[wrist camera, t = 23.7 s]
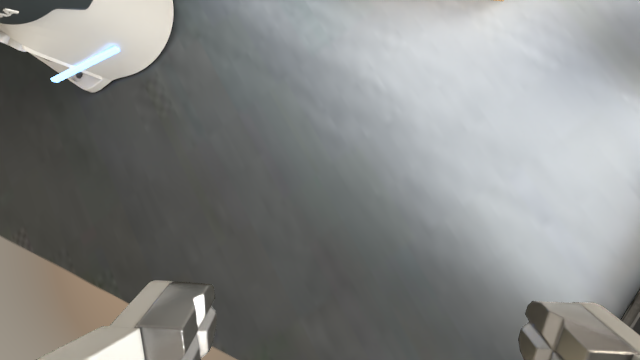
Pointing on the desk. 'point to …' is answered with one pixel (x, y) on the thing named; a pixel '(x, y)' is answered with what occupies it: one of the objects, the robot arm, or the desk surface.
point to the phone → (633, 315)
